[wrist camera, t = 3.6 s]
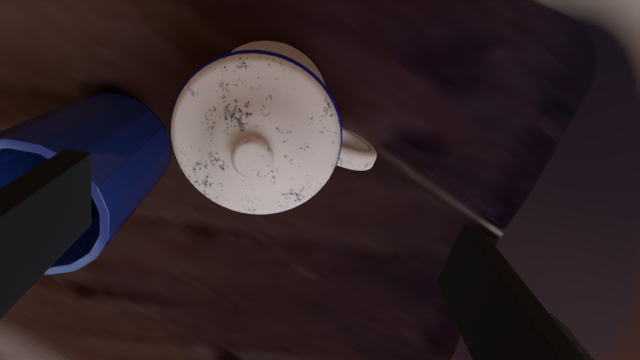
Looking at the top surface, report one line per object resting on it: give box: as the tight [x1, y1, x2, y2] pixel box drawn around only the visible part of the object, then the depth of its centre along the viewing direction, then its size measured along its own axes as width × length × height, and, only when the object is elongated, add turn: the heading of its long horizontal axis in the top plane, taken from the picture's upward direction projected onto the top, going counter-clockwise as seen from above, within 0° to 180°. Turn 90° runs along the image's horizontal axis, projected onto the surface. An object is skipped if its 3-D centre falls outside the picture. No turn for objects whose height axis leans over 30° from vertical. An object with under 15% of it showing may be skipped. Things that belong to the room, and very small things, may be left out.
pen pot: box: [0, 92, 171, 275], centre depth 24 cm, size 8×8×10 cm
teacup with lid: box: [171, 41, 376, 214], centre depth 23 cm, size 12×9×12 cm
